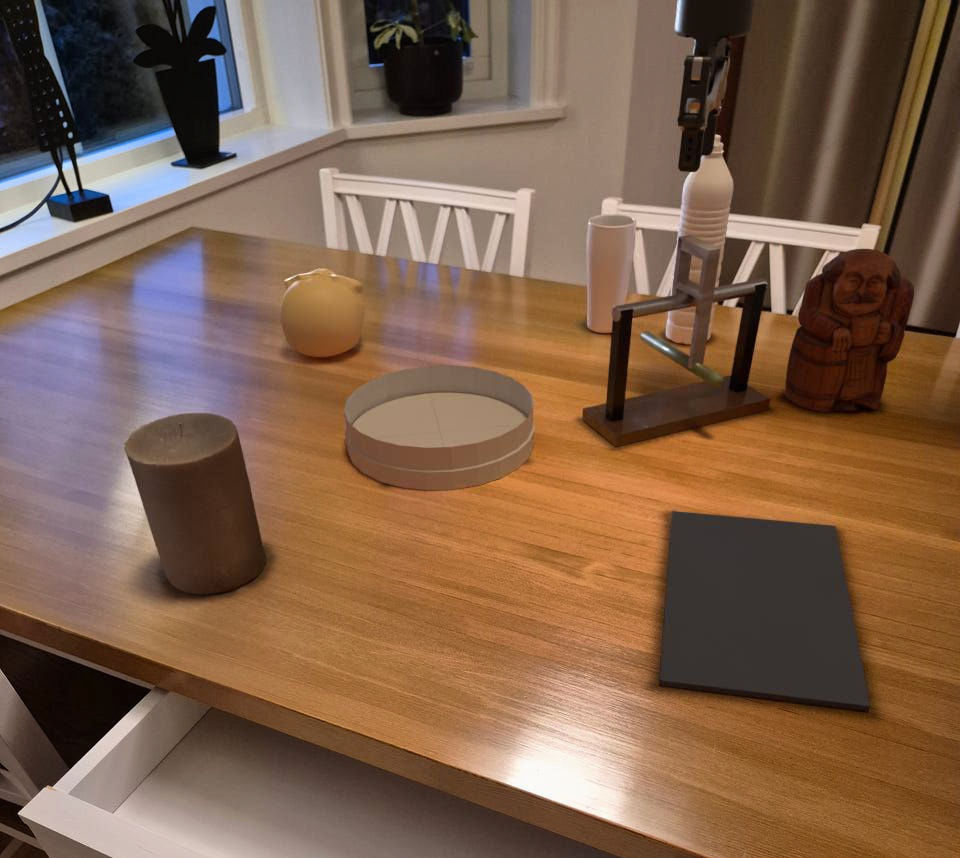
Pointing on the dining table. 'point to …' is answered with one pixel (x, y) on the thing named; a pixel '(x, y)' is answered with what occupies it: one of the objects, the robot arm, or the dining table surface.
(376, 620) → the dining table surface
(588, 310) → the drinking glass
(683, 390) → the rail stand
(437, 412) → the dish
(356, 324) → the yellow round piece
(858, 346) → the wooden figurine
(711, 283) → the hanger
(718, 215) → the water bottle
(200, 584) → the pillar candle
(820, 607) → the mat
